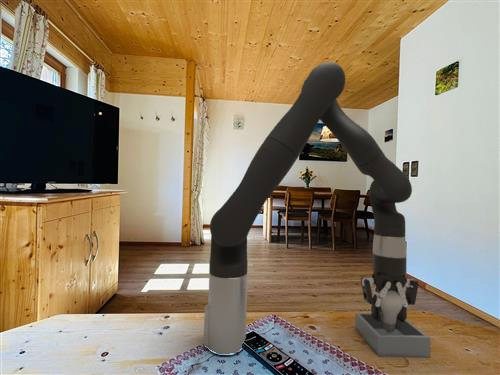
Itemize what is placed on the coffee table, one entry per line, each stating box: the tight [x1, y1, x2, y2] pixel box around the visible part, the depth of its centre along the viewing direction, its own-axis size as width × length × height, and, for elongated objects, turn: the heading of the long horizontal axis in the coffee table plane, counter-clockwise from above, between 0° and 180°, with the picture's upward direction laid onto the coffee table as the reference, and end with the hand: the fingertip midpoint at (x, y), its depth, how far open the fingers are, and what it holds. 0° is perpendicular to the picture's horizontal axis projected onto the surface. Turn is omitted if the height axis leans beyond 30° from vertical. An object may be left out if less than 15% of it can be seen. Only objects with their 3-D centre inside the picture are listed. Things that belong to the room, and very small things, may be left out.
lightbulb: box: [376, 291, 403, 333], centre depth 64 cm, size 6×6×11 cm
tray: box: [354, 312, 431, 358], centre depth 63 cm, size 12×12×4 cm
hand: (388, 320), depth 63 cm, fingers closed on lightbulb, 5 cm apart
